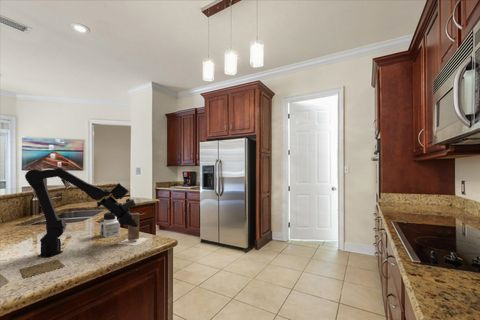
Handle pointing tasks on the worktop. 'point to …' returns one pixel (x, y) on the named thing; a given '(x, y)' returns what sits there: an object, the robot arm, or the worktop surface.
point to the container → (109, 225)
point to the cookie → (41, 268)
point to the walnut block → (134, 228)
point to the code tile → (133, 241)
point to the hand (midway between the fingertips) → (136, 225)
